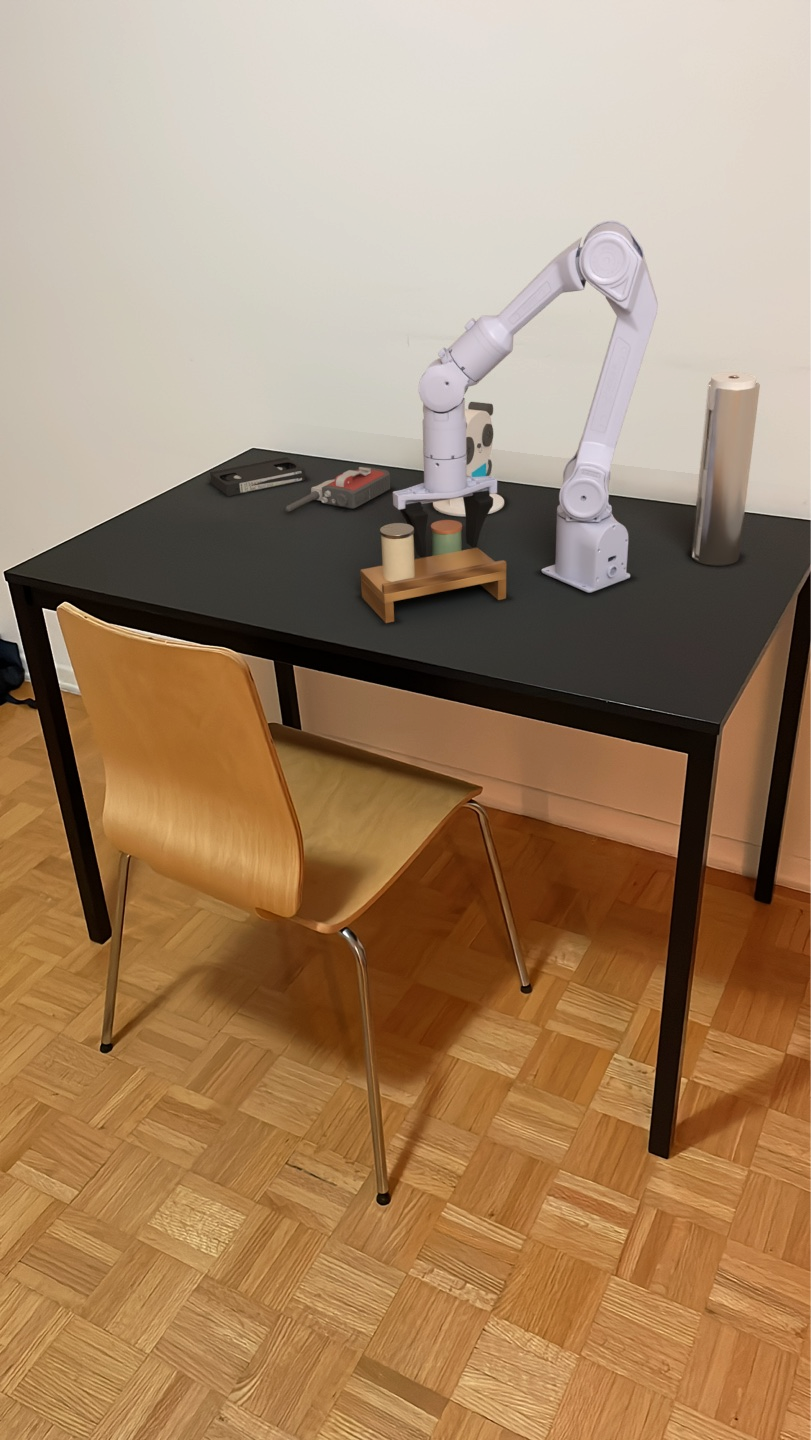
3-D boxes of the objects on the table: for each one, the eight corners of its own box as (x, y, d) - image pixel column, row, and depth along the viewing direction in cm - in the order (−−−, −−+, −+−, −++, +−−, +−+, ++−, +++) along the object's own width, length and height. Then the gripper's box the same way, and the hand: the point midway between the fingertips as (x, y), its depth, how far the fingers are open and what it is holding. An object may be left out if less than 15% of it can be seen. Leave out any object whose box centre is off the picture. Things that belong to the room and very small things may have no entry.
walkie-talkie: (354, 479, 194) (282, 516, 179) (352, 454, 191) (279, 489, 177) (397, 487, 189) (327, 525, 175) (396, 461, 187) (324, 498, 173)
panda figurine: (483, 521, 174) (483, 424, 166) (418, 511, 179) (415, 416, 171) (515, 497, 183) (516, 404, 175) (452, 488, 188) (451, 397, 180)
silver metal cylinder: (740, 567, 155) (762, 382, 143) (691, 565, 157) (709, 381, 144) (737, 549, 161) (759, 370, 148) (690, 547, 162) (708, 369, 149)
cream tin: (422, 576, 147) (420, 529, 143) (395, 586, 144) (393, 537, 141) (402, 567, 150) (400, 520, 146) (375, 576, 147) (373, 528, 144)
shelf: (477, 574, 157) (477, 538, 154) (506, 598, 149) (506, 561, 147) (361, 597, 152) (359, 560, 149) (385, 623, 144) (383, 585, 142)
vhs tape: (227, 496, 189) (226, 484, 188) (211, 483, 195) (209, 472, 194) (305, 480, 194) (305, 468, 193) (287, 468, 200) (286, 457, 199)
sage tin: (469, 569, 158) (468, 525, 155) (444, 578, 156) (443, 533, 153) (449, 561, 161) (448, 517, 158) (425, 568, 159) (424, 525, 156)
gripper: (481, 437, 156) (481, 531, 163) (383, 453, 151) (387, 548, 158) (504, 451, 150) (503, 548, 157) (402, 468, 146) (406, 566, 152)
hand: (446, 549), depth 157 cm, fingers open, 7 cm apart
